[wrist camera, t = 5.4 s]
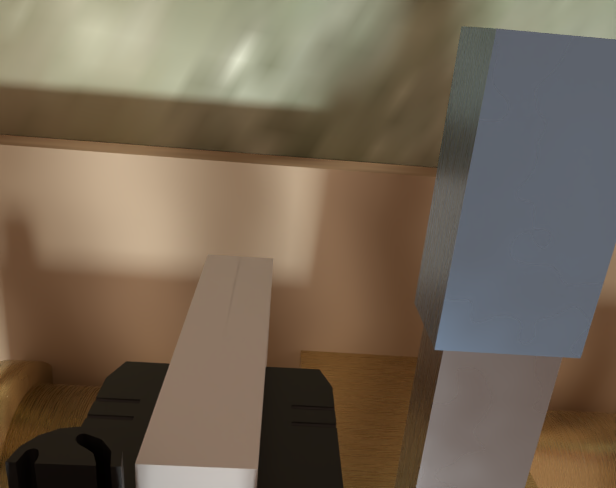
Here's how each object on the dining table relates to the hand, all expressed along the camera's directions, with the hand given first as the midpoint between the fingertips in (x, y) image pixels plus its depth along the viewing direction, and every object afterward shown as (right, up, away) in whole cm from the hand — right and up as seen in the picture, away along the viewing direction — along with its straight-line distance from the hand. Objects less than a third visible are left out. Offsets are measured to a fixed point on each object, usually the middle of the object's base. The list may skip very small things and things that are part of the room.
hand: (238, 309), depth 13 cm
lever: (+5, -3, +1) cm, 6 cm away
